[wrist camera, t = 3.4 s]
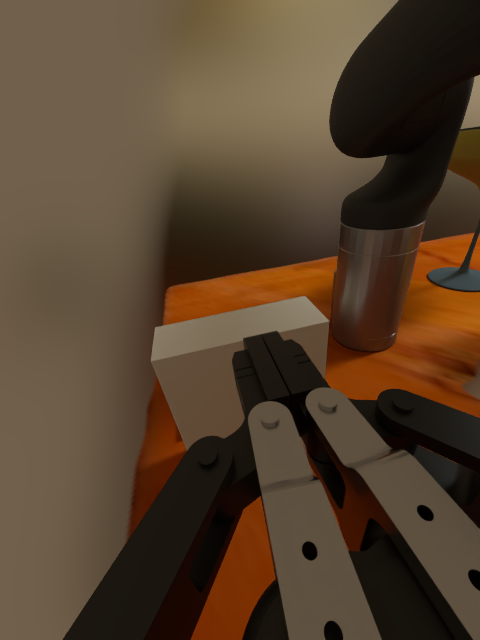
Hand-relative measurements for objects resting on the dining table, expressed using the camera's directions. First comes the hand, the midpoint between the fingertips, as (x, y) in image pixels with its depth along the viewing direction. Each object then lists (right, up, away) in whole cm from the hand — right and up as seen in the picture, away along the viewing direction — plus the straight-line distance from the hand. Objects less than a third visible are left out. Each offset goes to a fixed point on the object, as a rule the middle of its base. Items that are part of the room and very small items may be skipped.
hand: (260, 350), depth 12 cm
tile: (+1, -12, +16) cm, 20 cm away
